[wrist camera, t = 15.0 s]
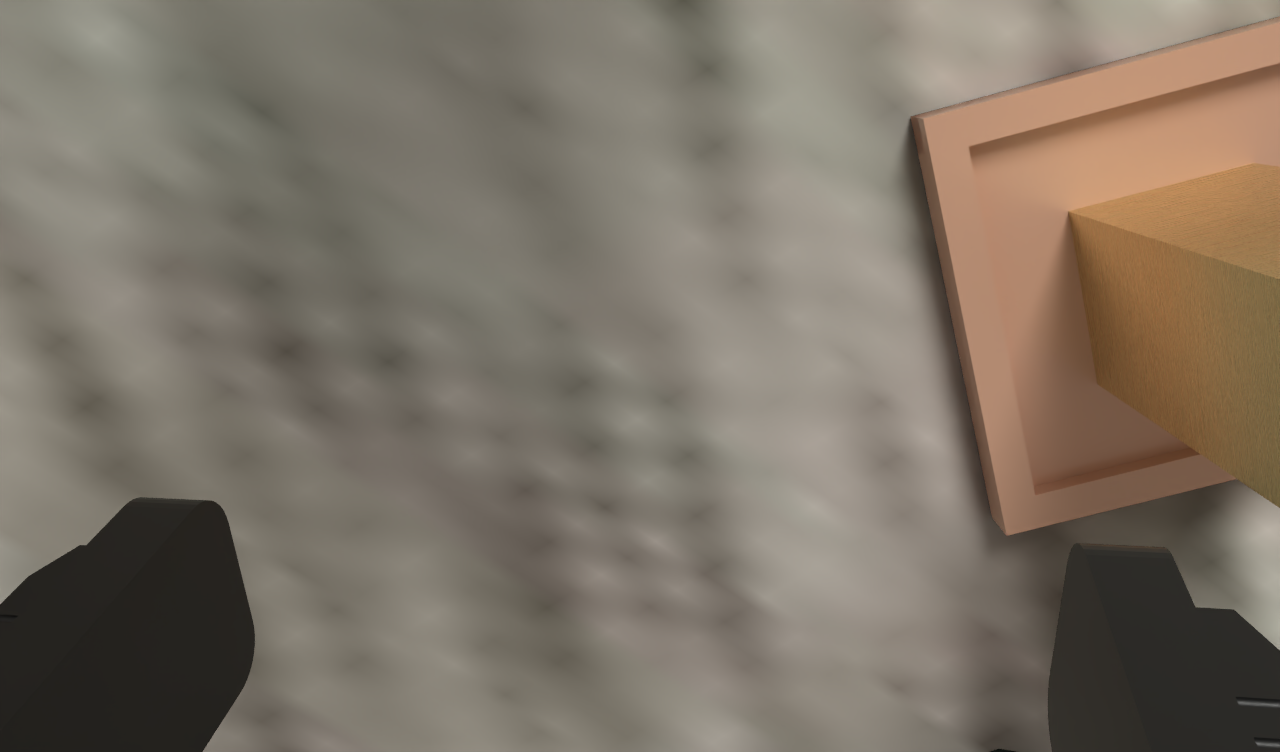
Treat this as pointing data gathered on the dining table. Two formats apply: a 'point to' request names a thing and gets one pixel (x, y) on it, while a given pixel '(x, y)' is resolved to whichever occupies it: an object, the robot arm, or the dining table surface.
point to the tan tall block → (1192, 313)
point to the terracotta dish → (1046, 261)
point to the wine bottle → (1000, 751)
